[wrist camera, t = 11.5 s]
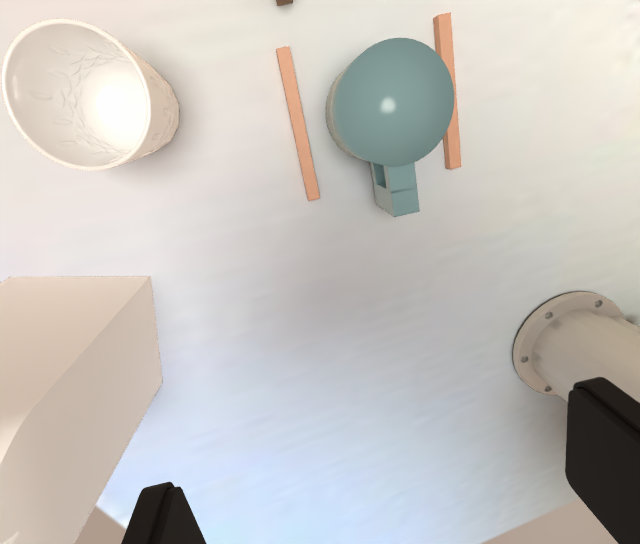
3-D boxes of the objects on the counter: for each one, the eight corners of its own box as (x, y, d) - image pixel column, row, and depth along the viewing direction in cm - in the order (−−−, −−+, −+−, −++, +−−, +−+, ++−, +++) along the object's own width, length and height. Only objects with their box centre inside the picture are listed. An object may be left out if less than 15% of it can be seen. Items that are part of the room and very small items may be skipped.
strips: (445, 16, 31) (450, 12, 30) (456, 165, 36) (461, 166, 35) (276, 51, 31) (276, 48, 30) (307, 198, 35) (308, 200, 34)
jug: (411, 50, 32) (449, 26, 25) (425, 191, 36) (462, 204, 29) (316, 70, 32) (328, 51, 25) (342, 209, 36) (359, 228, 29)
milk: (150, 276, 36) (-112, 575, 12) (162, 381, 40) (-15, 772, 15) (10, 276, 35) (-624, 618, 10) (37, 385, 38) (-377, 822, 14)
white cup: (80, 47, 29) (-12, 6, 20) (187, 62, 30) (148, 30, 21) (88, 154, 32) (11, 163, 23) (187, 165, 33) (152, 177, 24)
